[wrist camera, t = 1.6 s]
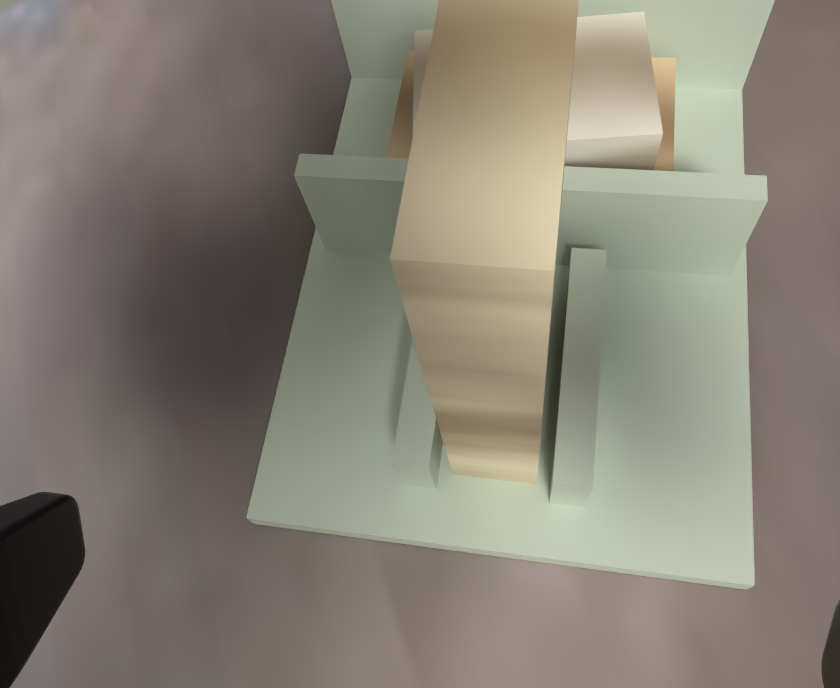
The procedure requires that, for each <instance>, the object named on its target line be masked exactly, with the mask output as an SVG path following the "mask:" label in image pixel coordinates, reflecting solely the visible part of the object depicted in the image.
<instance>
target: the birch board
mask: <svg viewBox="0 0 840 688" xmlns="http://www.w3.org/2000/svg"><path fill="white" fill-rule="evenodd" d="M578 5H579V0H439V3H438V8H437V13H436V19H435V24H434V29H433V35H432V40H431V45H430V50H429V56H428V61H427V66H426V71H425V77H424V82H423V87H422V92H421V98H420V103H419V108H418V113H417V119H416V124H415V129H414V134H413V140H412V145H411V150H410V155H409V161H408V166H407V171H406V176H405V182H404V187H403V192H402V197H401V203H400V208H399V213H398V218H397V224H396V229H395V234H394V239H393V245H392V250H391V255H390V262H391V265H392V269H393V272H394V275H395V279H396V282H397V286H398V289H399V293H400V296H401V299H402V303H403V306H404V310H405V313H406V317H407V320H408V323H409V327H410V330H411V334H412V337H413V340H414V344H415V347H416V351H417V354H418V358H419V361H420V364H421V368H422V371H423V375H424V378H425V381H426V385H427V388H428V392H429V395H430V399H431V402H432V405H433V409H434V412H435V416H436V419H437V422H438V426H439V429H440V433H441V436H442V440H443V443H444V446H445V450H446V453H447V457H448V460H449V464H450V467H451V470H452V474H453V475H462V476H471V477H479V478H488V479H496V480H505V481H513V482H522V483H531V484H537V474H538V463H539V452H540V440H541V429H542V418H543V407H544V396H545V384H546V373H547V362H548V351H549V340H550V328H551V317H552V306H553V295H554V283H555V271H556V260H557V248H558V237H559V225H560V214H561V202H562V190H563V179H564V167H565V156H566V144H567V132H568V121H569V109H570V98H571V86H572V74H573V63H574V51H575V40H576V28H577V16H578Z"/></svg>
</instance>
